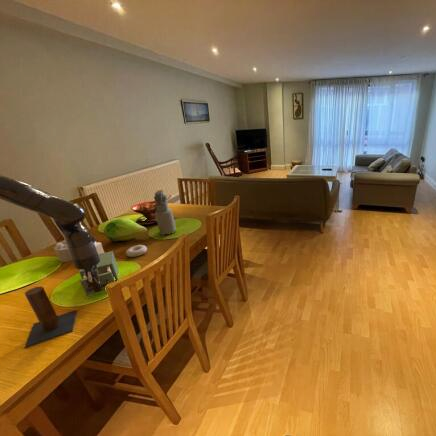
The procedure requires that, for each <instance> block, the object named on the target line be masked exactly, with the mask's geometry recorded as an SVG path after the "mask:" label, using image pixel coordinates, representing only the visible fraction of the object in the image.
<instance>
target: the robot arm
mask: <svg viewBox="0 0 436 436" xmlns="http://www.w3.org/2000/svg"><path fill="white" fill-rule="evenodd" d="M0 200H1V201H3V202H7V203H8V204H12V205H14V206H16V207H20V208H22V209H25V210H27V211H31V212H34V213H38V214H42V215H44V216H47V217H49V218H52V220H53V222H54V224H55V225H56V227H57V229H59V231H60V232H61V235H62V236H63V238H64V240H65V241H66V243H67V246H68V249H69V253H70V256H71V258H72V263H73V266H74V267H75V269H76V270H79V271H80V270H81V269H82V270H84V271H85V272H83V273H84V276H86V278H87V280H86V282H87V283H88V284H89V285H90V287H92V286H93V288H94V291H95V292H96V294H98V293H97V292H100V291H102V287H101V284H100V282H99V281H100V279H99V277H100V276H99V272H98V267H97V264H98V263H99V262H100V258H99V255H98V253H97V250H96V247H95V245H94V243H93V241H92V239H91V236H92V235H91V233H90V231H89V229H88V228H87V227H86V226H84V225H83V223H82V222H84V221H85V219H86V216H87V215H86V211H85V210H84V208H83V207H81V206H80V205H78V204H77V203H73V202H71V201H68V200H66V199H63V198H59V197H57V196H55V195H52V194H50V193H49V192H47V191H45V190H42V189H40V188H38V187H36V186H33V185H31V184H29V183H26V182H24V181H21V180H18V179H14V178H12V177H9V176H5V175H2V174H0ZM90 235H91V236H90ZM100 293H101V292H100Z"/></svg>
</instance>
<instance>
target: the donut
mask: <svg viewBox="0 0 436 436" xmlns="http://www.w3.org/2000/svg"><path fill="white" fill-rule="evenodd" d="M147 251H148V247H147V246H146V245H143V244H136V245H133V246H130V247H129V248H128V249H127V250H126V251H125V254H126V256H127V257H130V258H137V257H140V256H142V255H144V254H146V252H147Z"/></svg>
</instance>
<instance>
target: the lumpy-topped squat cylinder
mask: <svg viewBox="0 0 436 436" xmlns="http://www.w3.org/2000/svg"><path fill="white" fill-rule="evenodd" d="M53 249H54V252H55V254H56V256H57V258H58V261H59V262H61V263H68V262H73V260H72V258H71V256H70V253H69V249H68V246H67V243H66V241H65V239H63V240H62V241H60V242H57V243H55V244H54V247H53Z"/></svg>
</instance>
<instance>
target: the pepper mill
mask: <svg viewBox="0 0 436 436" xmlns="http://www.w3.org/2000/svg"><path fill="white" fill-rule="evenodd" d="M24 296H25V298H26V300H27V301H28V304H29V306H30V307H31V309H32V311H33V312H34V315H35V316H36V319H37V320H38V322H40V324H41V326H42V328H43V329H44V331H46V332H47V331H52V330H54V329H56V328H57V327H59V326H60V324H61V323H60V321H59V319H58V317H57V316H58V315H57V313H56V311H55V309H54V306H53V305H52V303H51V300H50V299H49V296H48V294H47V292H46V290H45V288H44V286H35V287H32V288H30V289H28V290H26V291H25V292H24Z"/></svg>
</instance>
